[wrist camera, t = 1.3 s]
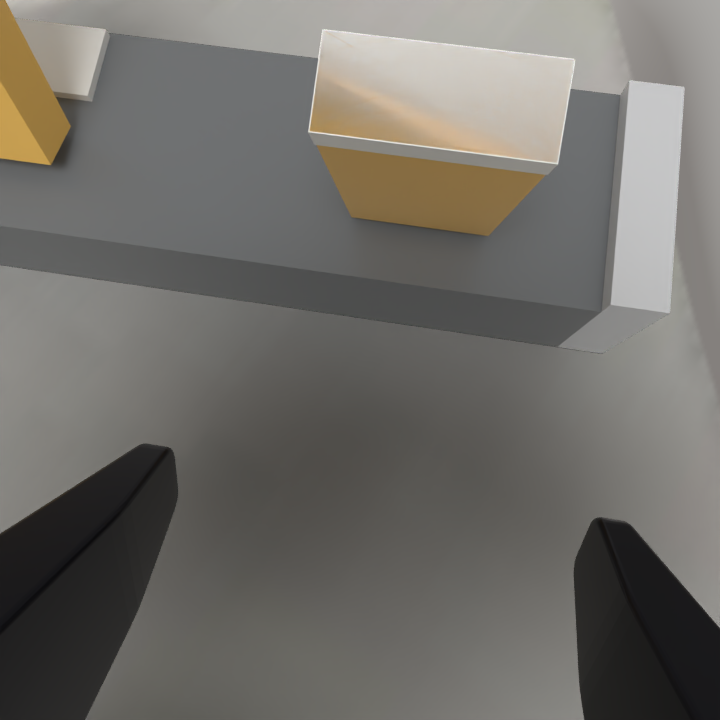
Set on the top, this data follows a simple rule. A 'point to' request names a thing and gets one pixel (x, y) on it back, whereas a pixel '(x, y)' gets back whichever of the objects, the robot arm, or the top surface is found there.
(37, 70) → the outlet rocker
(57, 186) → the power strip
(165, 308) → the top surface
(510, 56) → the outlet rocker
